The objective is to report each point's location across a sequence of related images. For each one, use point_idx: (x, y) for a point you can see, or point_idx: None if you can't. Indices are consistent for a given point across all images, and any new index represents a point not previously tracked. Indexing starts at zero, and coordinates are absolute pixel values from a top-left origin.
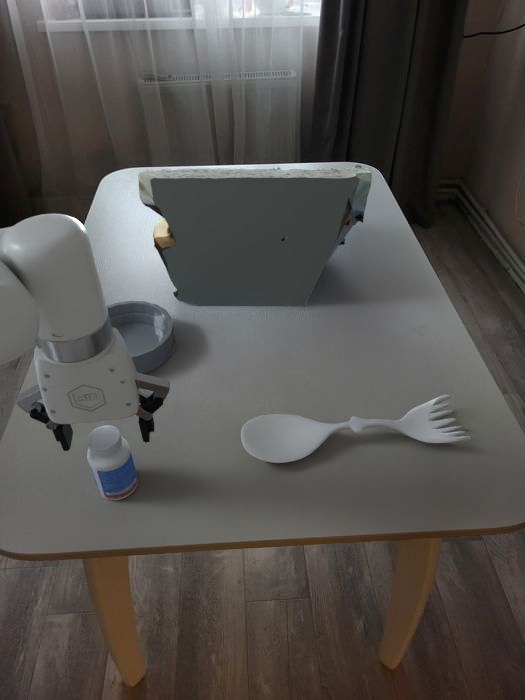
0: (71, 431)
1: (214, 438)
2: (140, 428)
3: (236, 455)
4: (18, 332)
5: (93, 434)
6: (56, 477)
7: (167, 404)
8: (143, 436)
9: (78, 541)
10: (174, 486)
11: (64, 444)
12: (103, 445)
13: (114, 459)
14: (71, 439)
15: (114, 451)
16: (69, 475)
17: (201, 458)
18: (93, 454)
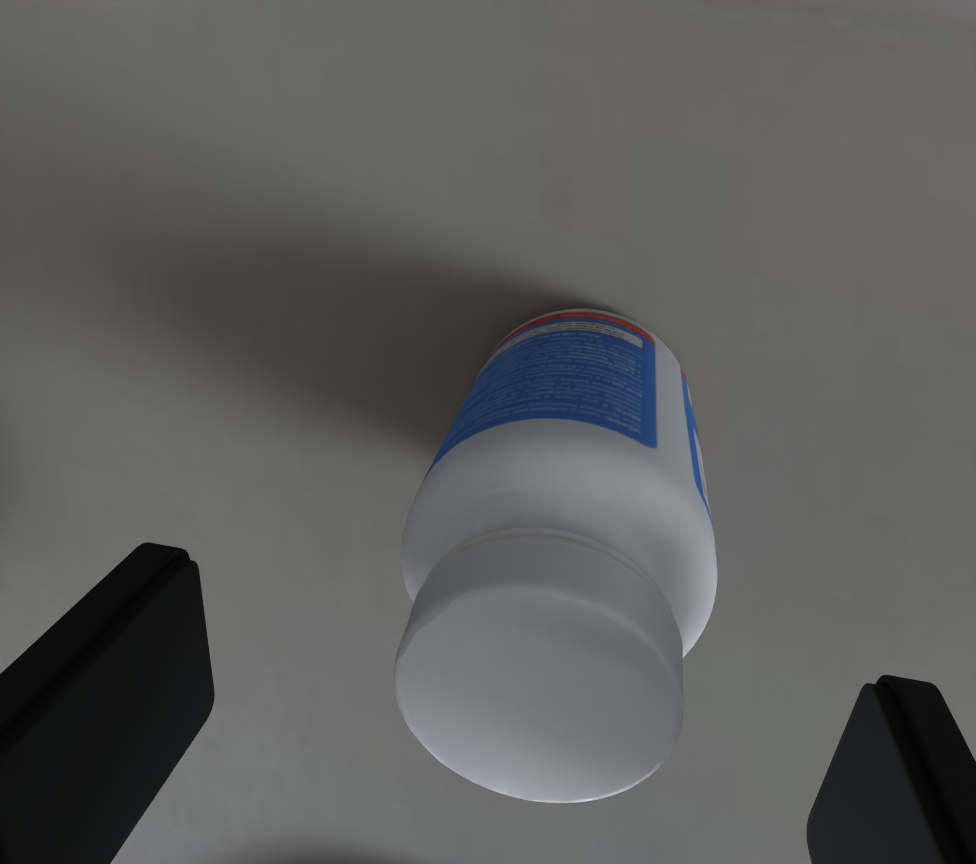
0: (823, 848)
1: (140, 529)
2: (55, 695)
3: (36, 417)
4: None
5: (624, 755)
6: (908, 537)
7: (348, 742)
8: (120, 601)
9: (853, 72)
10: (300, 322)
11: (938, 760)
12: (536, 626)
13: (495, 490)
14: (833, 770)
15: (466, 548)
16: (834, 529)
17: (186, 444)
18: (659, 579)
